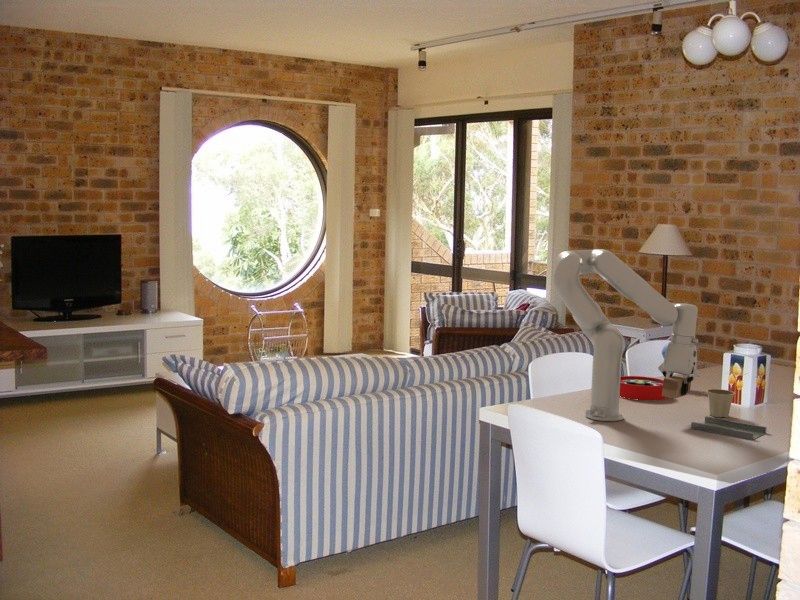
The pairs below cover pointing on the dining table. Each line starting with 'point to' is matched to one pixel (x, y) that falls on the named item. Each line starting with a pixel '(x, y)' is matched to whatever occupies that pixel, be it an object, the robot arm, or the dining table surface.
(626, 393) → the toy clock
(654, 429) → the dining table surface
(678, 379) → the walnut block
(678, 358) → the robot arm
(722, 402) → the flower pot
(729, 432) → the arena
